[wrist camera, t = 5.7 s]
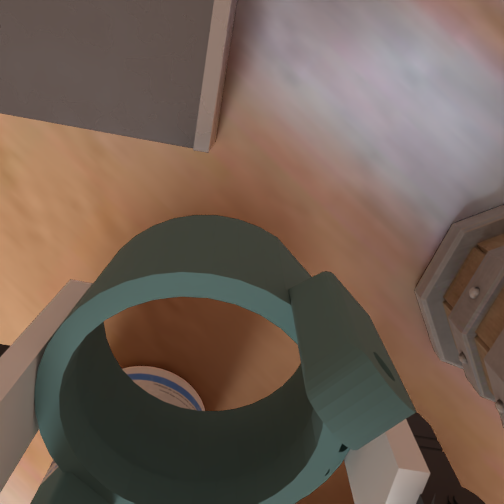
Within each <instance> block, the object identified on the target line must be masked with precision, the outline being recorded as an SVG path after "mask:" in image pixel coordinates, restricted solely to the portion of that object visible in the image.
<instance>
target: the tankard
mask: <svg viewBox="0 0 504 504" xmlns="http://www.w3.org/2000/svg"><path fill="white" fill-rule="evenodd" d="M414 291H415V294H416V297H417V300H418V303H419V306H420V309H421V312H422V315H423V318H424V322H425V325H426V328H427V331H428V334H429V337H430V340H431V343H432V346H433V349H434V352H435V353H436V354H437V356H438V357H439V359H440V360H441V361H444V362H446V363H449V364H451V365H454V366H457V367H459V368H462V369H464V372H465V375H466V378H467V379H468V380H469V382H470V383H471V384H472V386H473V387H474V388H475V390H476V391H477V393H478V394H479V395H480V396H481V397H483V398H486V399H489V400H491V401H494V402H496V403H495V406H496V409H497V410H498V411H499V414H500V418H501V421H502V425H503V428H504V205H501V206H499V207H496V208H493V209H491V210H488V211H485V212H483V213H480V214H477V215H475V216H472V217H469V218H467V219H464V220H461V221H459V222H456V223H453V224H452V225H451V227H450V229H449V231H448V232H447V234H446V236H445V238H444V239H443V241H442V243H441V245H440V246H439V248H438V250H437V252H436V253H435V255H434V257H433V258H432V260H431V262H430V264H429V265H428V267H427V269H426V271H425V272H424V274H423V276H422V278H421V279H420V281H419V283H418V285H417V286H416V288H415V290H414Z"/></svg>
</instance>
